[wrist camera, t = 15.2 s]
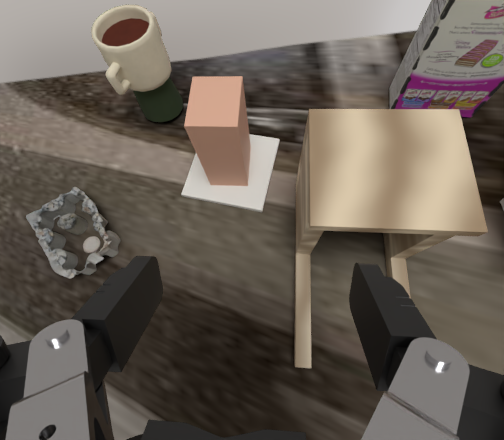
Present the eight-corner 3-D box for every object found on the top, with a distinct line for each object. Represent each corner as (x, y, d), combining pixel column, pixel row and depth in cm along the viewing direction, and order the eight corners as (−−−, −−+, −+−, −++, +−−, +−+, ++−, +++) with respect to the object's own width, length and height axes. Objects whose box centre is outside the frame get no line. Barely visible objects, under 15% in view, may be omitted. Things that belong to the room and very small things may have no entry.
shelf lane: (294, 364, 30) (312, 399, 17) (295, 184, 37) (309, 108, 24) (413, 374, 29) (531, 418, 16) (390, 186, 36) (459, 109, 23)
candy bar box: (466, 90, 40) (586, -51, 25) (471, 119, 39) (602, -14, 23) (386, 87, 42) (453, -50, 26) (387, 114, 40) (460, -15, 25)
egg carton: (129, 249, 36) (113, 241, 32) (78, 286, 35) (54, 282, 31) (93, 191, 39) (73, 177, 35) (44, 223, 38) (18, 212, 34)
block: (210, 185, 37) (184, 126, 26) (215, 146, 39) (192, 76, 28) (247, 186, 37) (237, 126, 26) (250, 147, 39) (242, 76, 28)
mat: (182, 196, 38) (181, 194, 37) (205, 129, 41) (205, 127, 40) (262, 212, 36) (262, 210, 35) (279, 141, 40) (279, 139, 39)
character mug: (160, 77, 45) (118, -12, 33) (199, 87, 44) (171, -2, 32) (127, 131, 42) (68, 53, 30) (169, 143, 41) (125, 68, 28)
